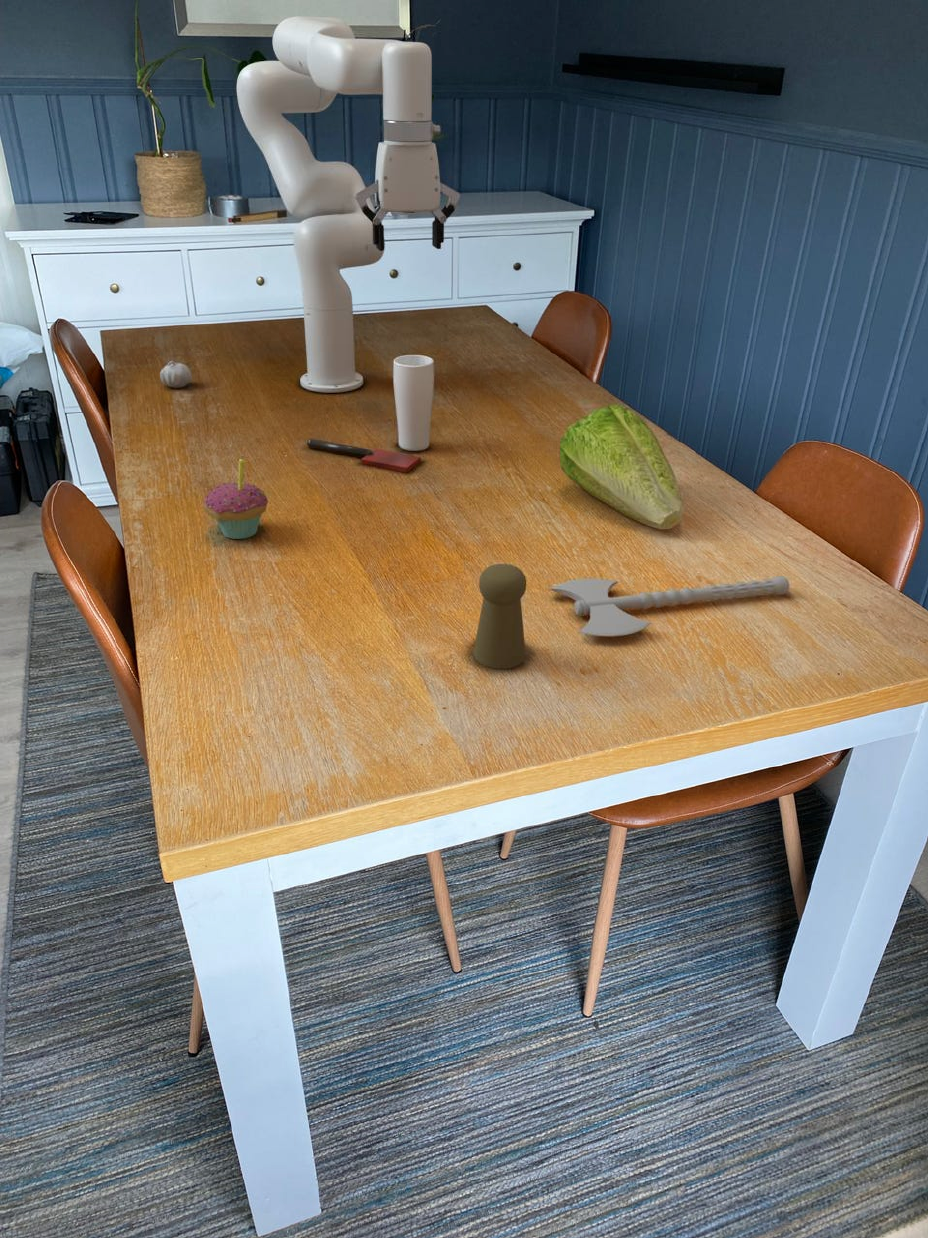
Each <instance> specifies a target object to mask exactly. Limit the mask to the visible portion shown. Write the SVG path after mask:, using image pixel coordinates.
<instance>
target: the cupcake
mask: <svg viewBox="0 0 928 1238" xmlns="http://www.w3.org/2000/svg"><path fill="white" fill-rule="evenodd" d="M244 477H245V459H244V454H242V455H241V458H240V459H239V460H238V482H225V483H221V484H219V485H217V486H215V487H213V488H214V489H211V490H210V491H209V492H208V494H206V497H205V500H204V505H203V508H204V511H205V513H206V514H207V515H208V516H210V517H212V518H213V519H215V521H216V522H217V524H218V526H219V529H220V530H221V533H222V535H223V536H224V537H225V538H228V539H232V540H242V539H249V538H250V537H253V536H254V535H256V534H257V532H258V529H259V524H260V522H261V521H260V520H261V517H262V515H263V513H265V512H266V510H267V505H268V503H269V500H268V497H267V495H265V493H264V491H263V490H262V489H260V488H259V487H258V486H256V485H255V484H251V483H249V482H244Z"/></svg>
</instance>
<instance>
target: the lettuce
mask: <svg viewBox="0 0 928 1238" xmlns="http://www.w3.org/2000/svg"><path fill="white" fill-rule="evenodd" d="M559 461H560V466H561V471H562V472H563V473H564V474H565V475H566V476H567V477H568V479H569V480H571V481H572V482H573V483H575V484H576V485H577V486H579V487H581V489H583V490H584V491H586V492H587V493H588V494H590V495H591V496H592V497H594V499H597V500H599V501H601V502H603V503H604V504H607V505H608V506H610V508H613V509H614V510H616V511H617V512H618V513H620V514H622V515H623V516H625V517H627V518H630V519H632V520H634V521H636V522H638V523H641V524H643V525H645V526H648V527H651V528H653V529H658V530H663V531H664V530H669V529H672V528H673V527H675V526H677V524H679V522H680V521H681V520H682V518H683V516H684V502H683V496H682V493H681V490H680V485H679V483H678V480H677V477H676V474H675V471H674V470H673V468H672V466H671V464H670V462H669V460H668V458H667V457H666V454H665V452H664V450H663V448H662V446H661V444H660V442H659V440H658V438H657V437H656V435H655V434H654V433H653V431H652V430H651V429H650V427H649V426H648V424H647V423H646V422H645V421H644V419H642V418H641V417H639V415H637V414H636V413H635V412H633V411H632V410H631V409H630V408H628V407H625V406H623V405H620V404H616V403H615V404H611V405H608V406H604V407H601V408H598V409H596V410H593V411H592V412H591V413H588V414H587V415H586V416H585V417H583V418H581V419H580V420H578V421H576V422H574V423H572V424H571V425H569V426H568V427H567V430H566V431H565V432H564V434H563V436H562V437H561V440H560V442H559Z"/></svg>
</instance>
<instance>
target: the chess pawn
mask: <svg viewBox="0 0 928 1238" xmlns="http://www.w3.org/2000/svg"><path fill="white" fill-rule="evenodd" d="M478 588H479V592H480V594H481V596H482V597H483V599H482V602H481V603H482V604H481V608H480V614H479V620H478V624H477V625H478V626H477V629H476V630H477V631H476V637H475V641H474V646H473V654H472V655H473V658H474V660H475V661H476V662H478V663H479V664H480V665H482V666H484V667H487V668H491V669H497V670H505V669H506V670H507V669H512V668H515V667H518V666H519V665H520V664H522V663H523V662H524V661H525V660H526V643H525V631H524V622H523V621H524V619H523V610H522V598H523V597H524V595H525V593H526V589H527V578H526V575H525V574H524V572H523V570H522V569H520V568H519V567H518V566H515V565H512V564H508V563H496V564H492V565H489V566H487V567H485V568H484V570H483V571H482V573H480V577H479V580H478Z"/></svg>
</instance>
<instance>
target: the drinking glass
mask: <svg viewBox="0 0 928 1238" xmlns="http://www.w3.org/2000/svg"><path fill="white" fill-rule="evenodd" d="M392 381H393V382H392V383H393V394H394V402H395V413H396V422H397V423H396V425H397V435H398V438H397V439H398V446H399V447H400V448H401V449H402V450H404V451H407V452H421V451H425V450H426V449H428V447H429V446H430V441H431V437H430V436H431V424H432V423H431V422H432V412H433V402H434V401H433V400H434V391H435V361H434V359H433V358H432V357H429V356H426V355H422V354H406V355H405V354H404V355H400V356H397V357H395V358H394V359H393V366H392Z"/></svg>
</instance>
